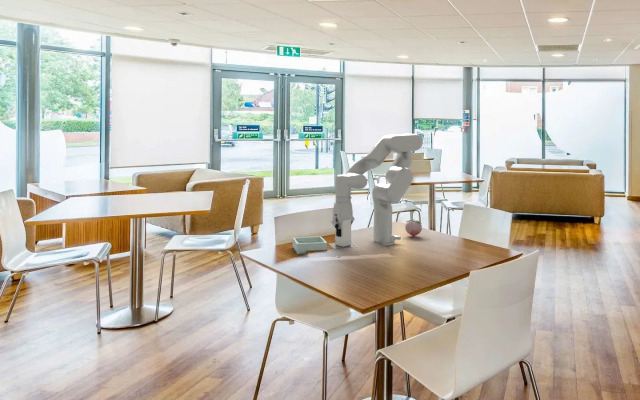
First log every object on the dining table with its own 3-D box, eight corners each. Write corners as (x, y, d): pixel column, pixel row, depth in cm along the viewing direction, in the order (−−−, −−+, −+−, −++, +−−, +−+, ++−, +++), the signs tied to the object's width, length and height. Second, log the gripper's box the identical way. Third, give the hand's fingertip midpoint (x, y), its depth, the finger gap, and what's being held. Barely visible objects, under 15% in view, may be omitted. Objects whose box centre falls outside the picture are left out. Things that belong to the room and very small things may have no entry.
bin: (320, 245, 257) (320, 236, 257) (327, 252, 243) (327, 242, 242) (292, 247, 254) (292, 237, 254) (297, 254, 240) (297, 243, 240)
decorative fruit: (423, 235, 283) (424, 218, 281) (420, 238, 275) (420, 220, 274) (407, 234, 287) (407, 216, 285) (403, 236, 279) (403, 219, 278)
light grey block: (343, 243, 256) (343, 217, 254) (351, 244, 252) (351, 219, 250) (335, 244, 252) (335, 219, 251) (343, 246, 248) (343, 220, 246)
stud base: (351, 245, 259) (351, 235, 259) (357, 250, 248) (357, 240, 247) (328, 246, 257) (328, 236, 256) (333, 251, 245) (333, 241, 244)
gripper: (350, 197, 257) (350, 231, 260) (325, 200, 246) (325, 236, 249) (360, 198, 252) (360, 234, 254) (335, 202, 240) (336, 239, 243)
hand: (343, 235), depth 251 cm, fingers closed on light grey block, 5 cm apart
